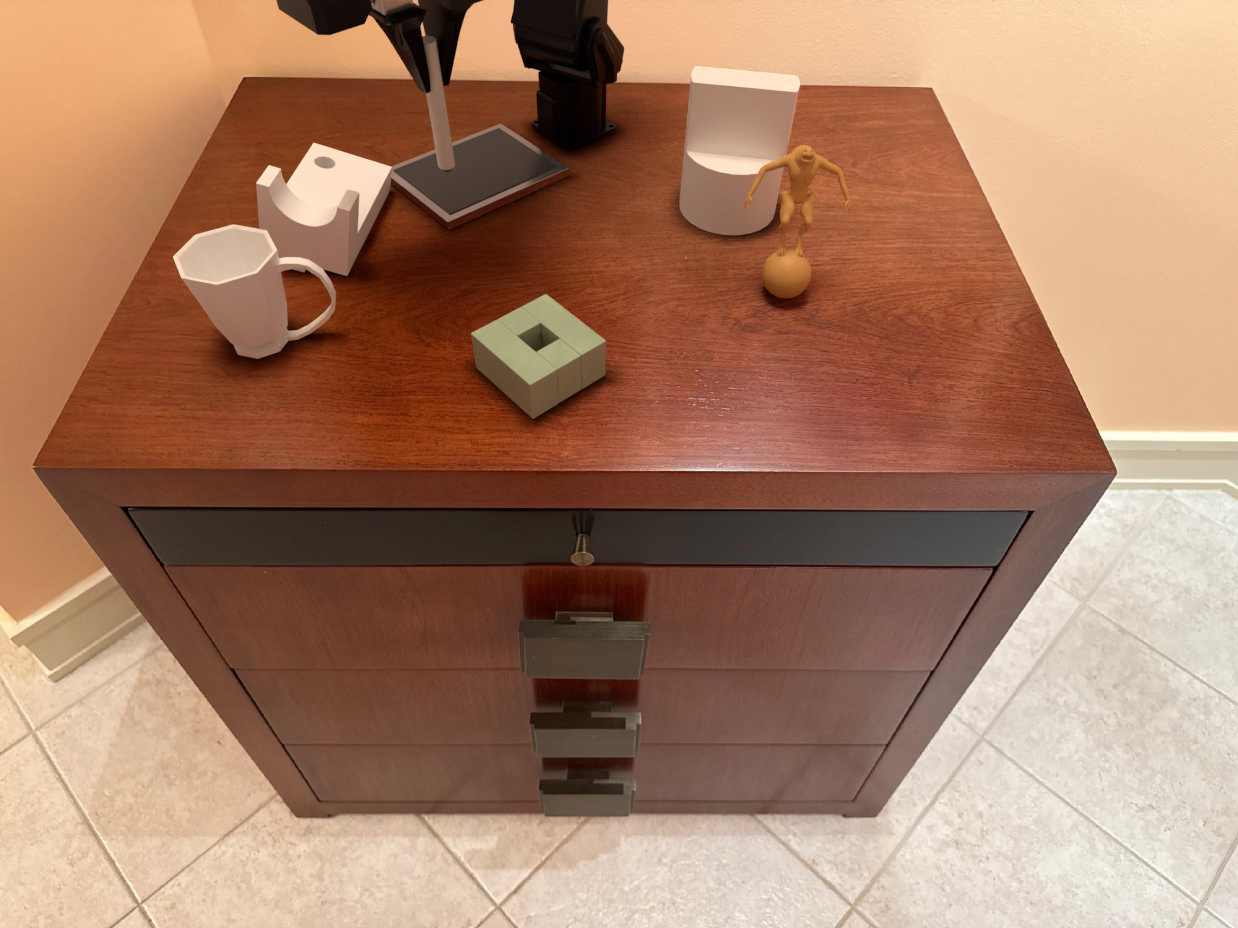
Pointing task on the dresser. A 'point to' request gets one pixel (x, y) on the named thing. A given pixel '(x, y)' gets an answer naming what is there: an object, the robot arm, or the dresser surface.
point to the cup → (245, 287)
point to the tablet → (477, 176)
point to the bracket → (323, 206)
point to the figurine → (790, 267)
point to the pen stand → (539, 355)
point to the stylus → (438, 108)
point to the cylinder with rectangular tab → (735, 147)
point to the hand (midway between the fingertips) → (434, 87)
